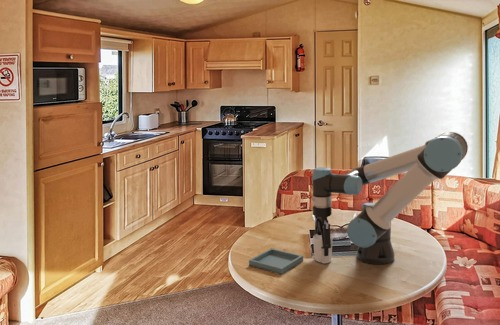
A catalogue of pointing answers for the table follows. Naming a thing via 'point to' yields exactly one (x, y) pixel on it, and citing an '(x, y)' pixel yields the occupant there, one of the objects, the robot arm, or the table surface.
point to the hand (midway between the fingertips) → (322, 258)
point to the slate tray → (276, 261)
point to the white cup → (317, 247)
